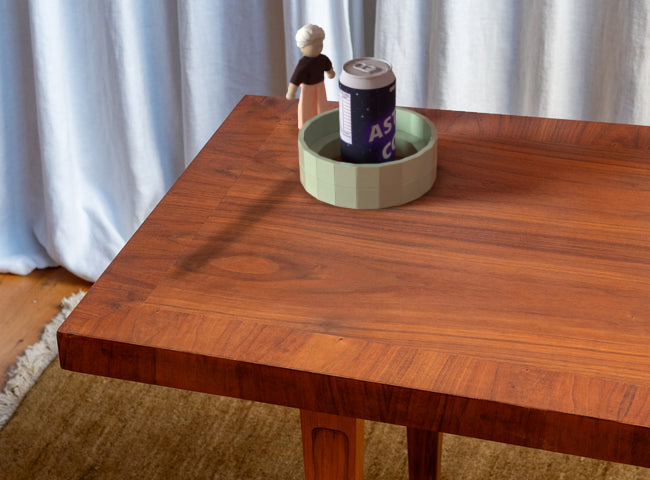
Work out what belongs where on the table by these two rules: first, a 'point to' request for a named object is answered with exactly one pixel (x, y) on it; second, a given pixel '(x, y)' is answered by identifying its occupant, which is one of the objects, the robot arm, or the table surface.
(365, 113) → the beverage can
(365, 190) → the green faceted ring
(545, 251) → the table surface
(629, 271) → the table surface
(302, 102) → the grandmother figurine
